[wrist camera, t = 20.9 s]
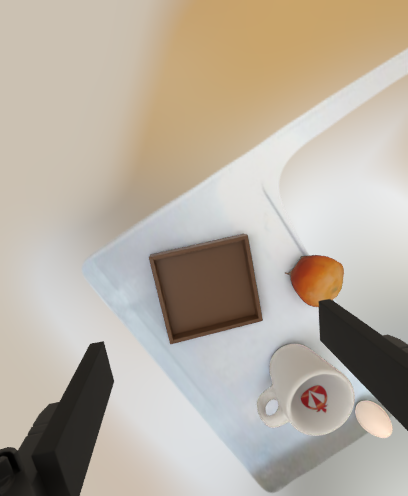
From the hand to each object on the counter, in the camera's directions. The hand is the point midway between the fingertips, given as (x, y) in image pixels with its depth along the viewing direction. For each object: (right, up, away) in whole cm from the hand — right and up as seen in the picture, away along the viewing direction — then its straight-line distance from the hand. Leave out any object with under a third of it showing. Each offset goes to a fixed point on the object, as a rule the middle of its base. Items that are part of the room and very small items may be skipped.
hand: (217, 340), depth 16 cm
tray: (0, -1, +27) cm, 27 cm away
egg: (+29, -24, +35) cm, 51 cm away
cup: (+13, -16, +32) cm, 38 cm away
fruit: (+17, +1, +30) cm, 34 cm away
